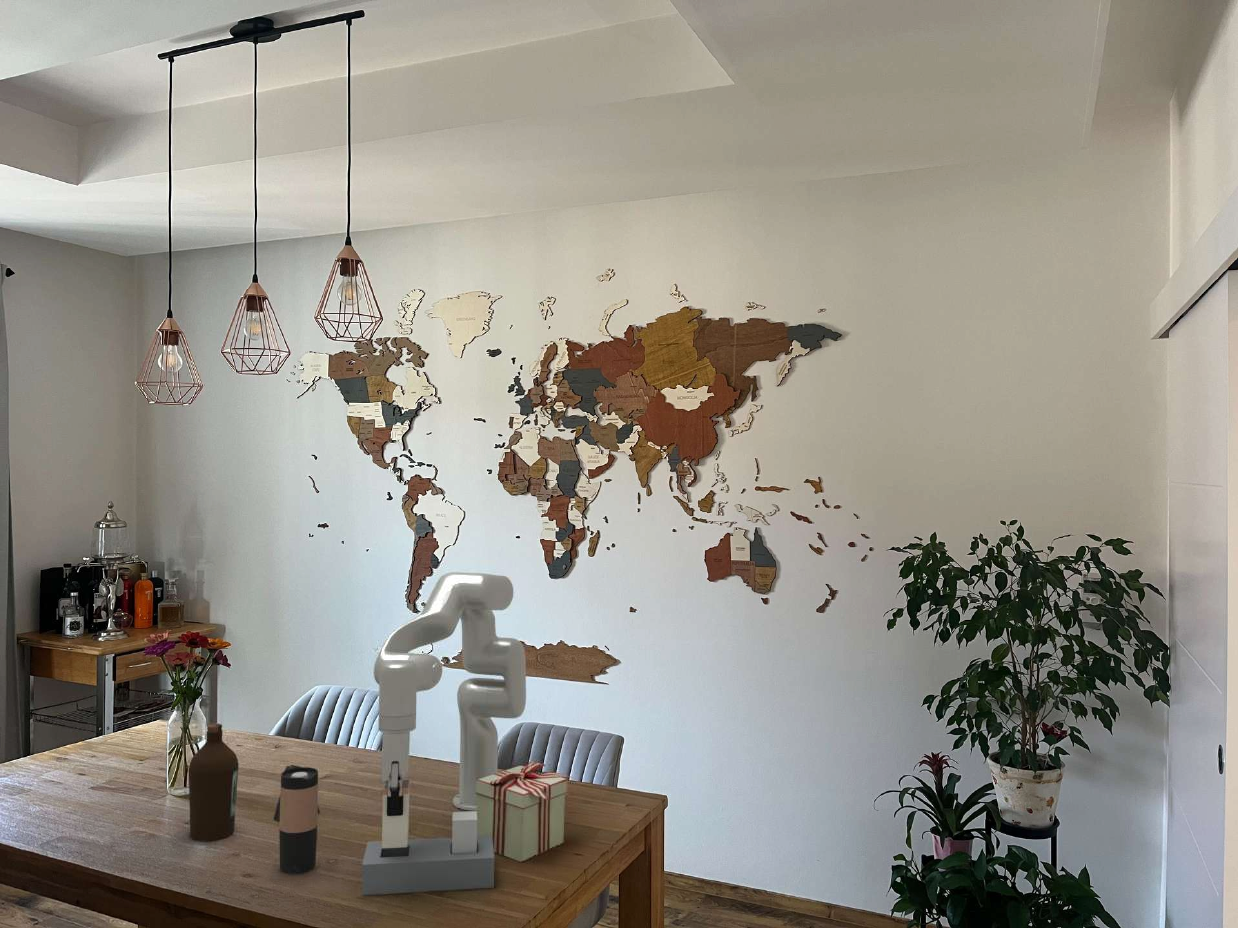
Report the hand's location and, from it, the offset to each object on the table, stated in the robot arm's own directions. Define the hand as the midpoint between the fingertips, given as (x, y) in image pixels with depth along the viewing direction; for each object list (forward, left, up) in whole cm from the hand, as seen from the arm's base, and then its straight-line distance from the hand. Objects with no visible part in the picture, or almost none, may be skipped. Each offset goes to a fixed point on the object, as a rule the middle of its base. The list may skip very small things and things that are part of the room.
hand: (395, 809), depth 193 cm
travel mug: (+10, -20, -15) cm, 27 cm away
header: (-5, +5, -15) cm, 16 cm away
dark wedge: (-6, -47, -15) cm, 50 cm away
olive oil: (+13, -51, -15) cm, 55 cm away
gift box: (-31, +7, -15) cm, 35 cm away
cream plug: (0, 0, -7) cm, 7 cm away
